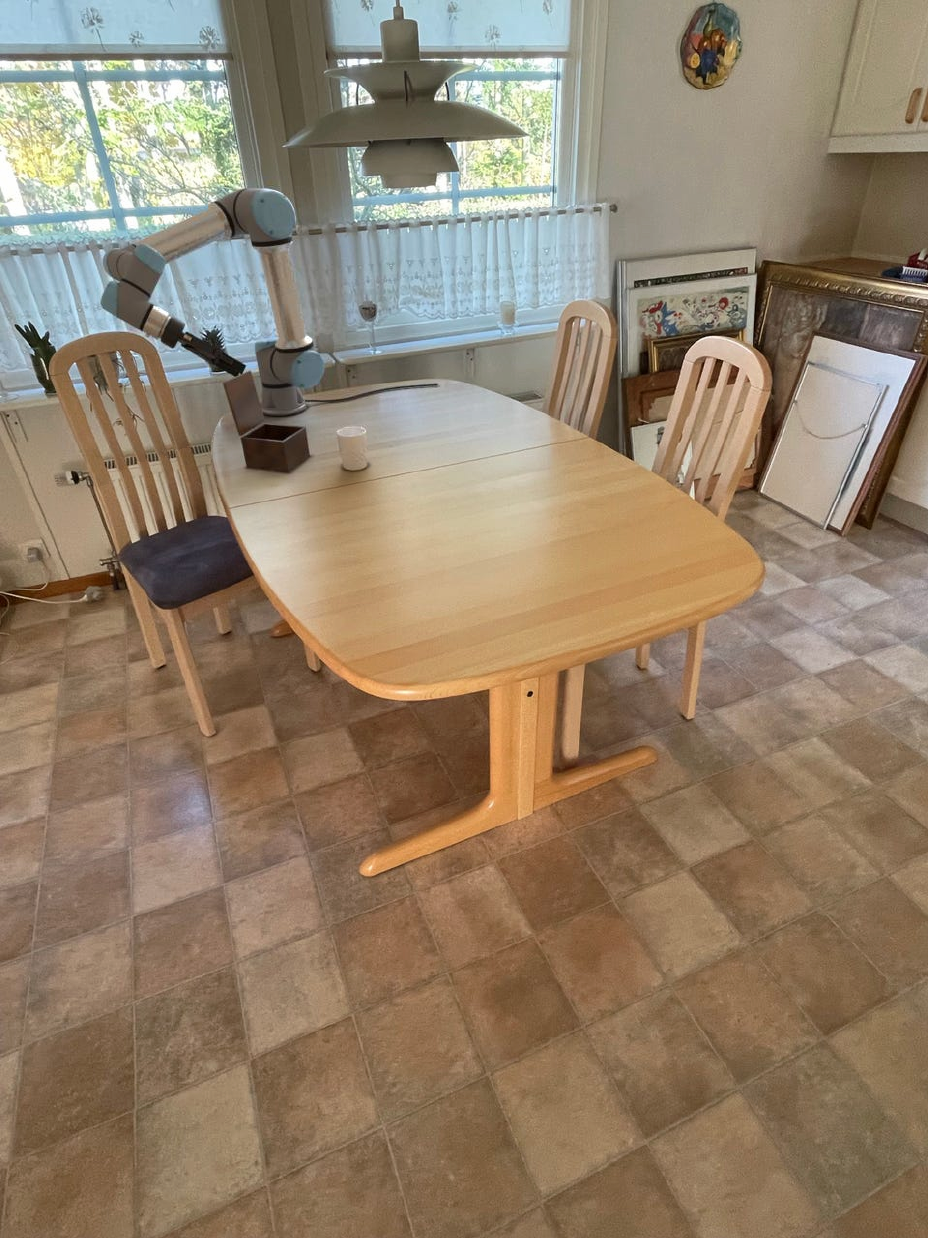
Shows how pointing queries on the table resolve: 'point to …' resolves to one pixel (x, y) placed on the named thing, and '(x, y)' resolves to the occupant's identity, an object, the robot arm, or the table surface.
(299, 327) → the robot arm
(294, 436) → the tea box
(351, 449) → the white cup
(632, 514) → the table surface
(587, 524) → the table surface
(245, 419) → the lid
